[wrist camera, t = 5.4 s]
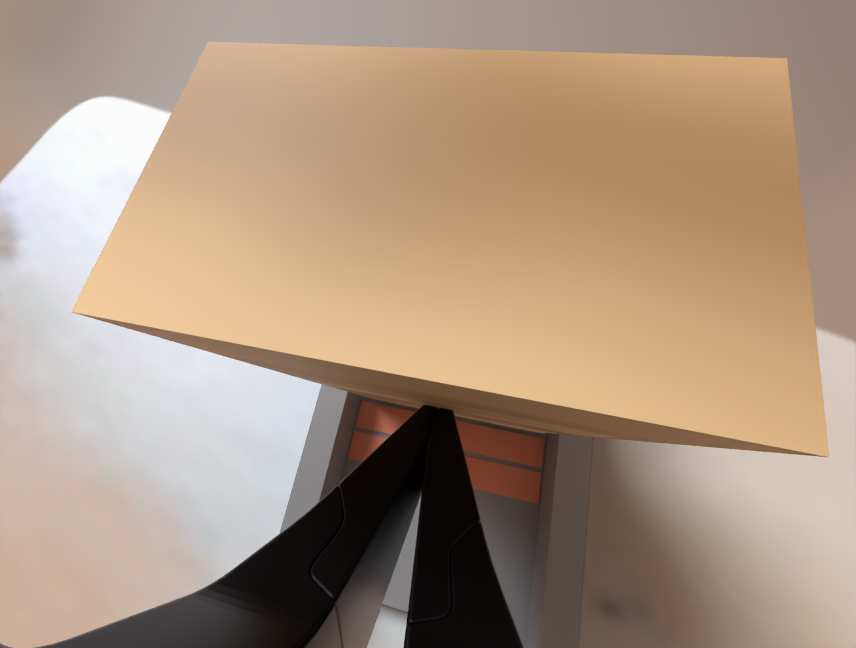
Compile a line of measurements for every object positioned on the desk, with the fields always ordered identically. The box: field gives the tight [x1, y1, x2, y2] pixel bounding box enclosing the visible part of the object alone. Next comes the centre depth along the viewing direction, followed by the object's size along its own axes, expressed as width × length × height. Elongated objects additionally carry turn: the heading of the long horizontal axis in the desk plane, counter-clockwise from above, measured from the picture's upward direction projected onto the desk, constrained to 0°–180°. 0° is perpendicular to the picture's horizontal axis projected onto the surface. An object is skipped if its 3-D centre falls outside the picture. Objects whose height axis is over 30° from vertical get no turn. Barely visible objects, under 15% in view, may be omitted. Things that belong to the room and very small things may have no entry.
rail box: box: [280, 384, 593, 648], centre depth 13 cm, size 14×11×6 cm
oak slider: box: [71, 42, 829, 457], centre depth 10 cm, size 4×7×12 cm, turn 79°
